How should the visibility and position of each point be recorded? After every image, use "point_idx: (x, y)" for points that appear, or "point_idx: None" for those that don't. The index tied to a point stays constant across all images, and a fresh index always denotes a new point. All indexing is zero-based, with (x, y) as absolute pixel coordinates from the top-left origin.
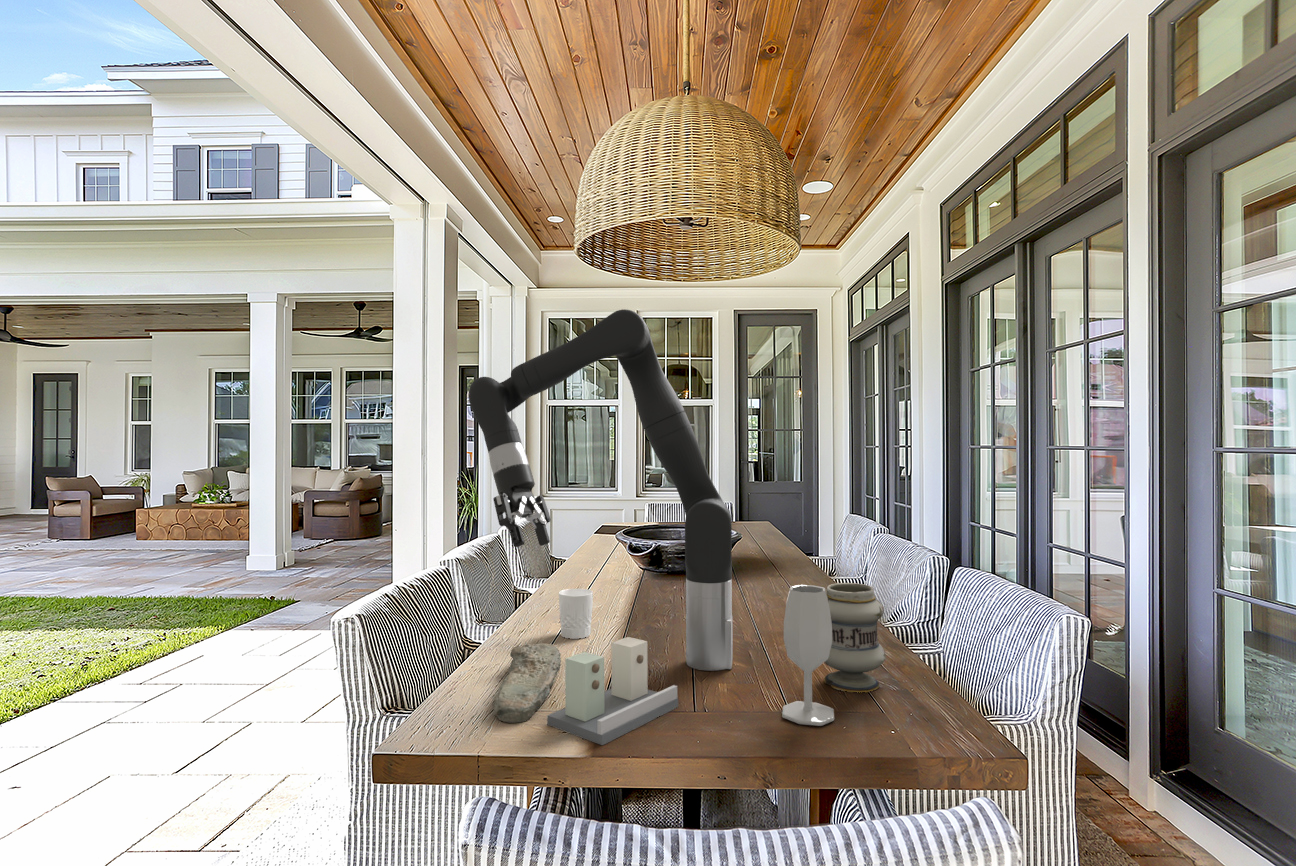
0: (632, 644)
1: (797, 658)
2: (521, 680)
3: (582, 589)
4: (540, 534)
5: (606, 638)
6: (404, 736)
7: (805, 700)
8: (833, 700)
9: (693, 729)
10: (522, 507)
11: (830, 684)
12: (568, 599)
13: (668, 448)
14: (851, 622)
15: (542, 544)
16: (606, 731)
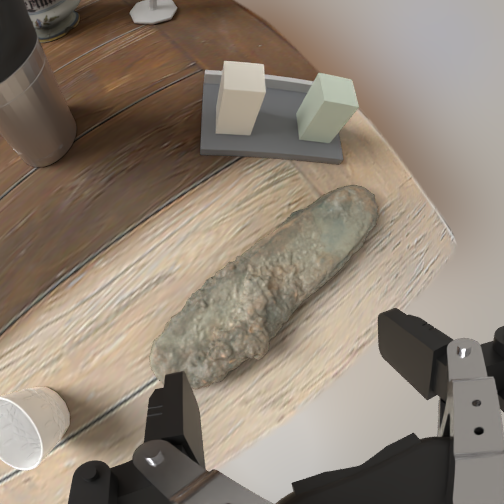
0: (251, 67)
1: None
2: (311, 257)
3: None
4: (194, 428)
5: (24, 352)
6: (441, 262)
7: (156, 1)
8: (105, 15)
9: (242, 55)
10: (471, 425)
11: (69, 29)
12: (40, 427)
13: None
14: None
15: (194, 396)
16: None
